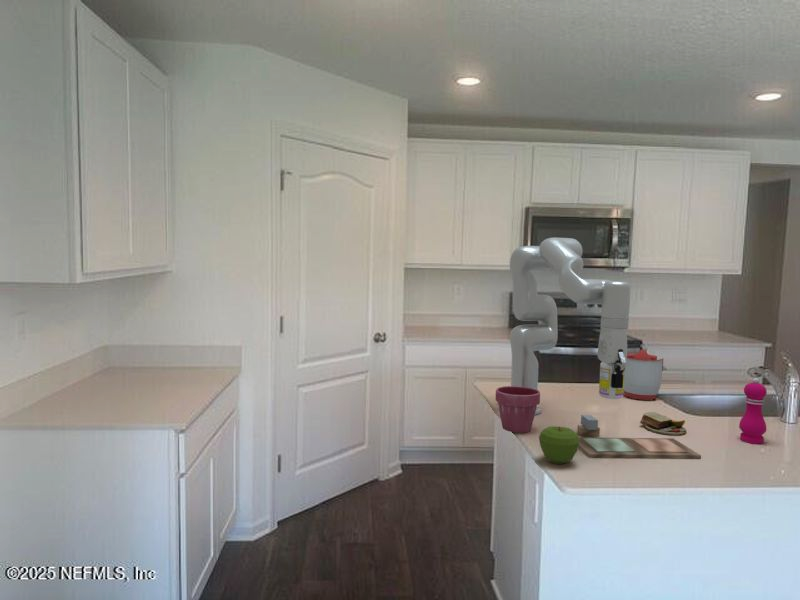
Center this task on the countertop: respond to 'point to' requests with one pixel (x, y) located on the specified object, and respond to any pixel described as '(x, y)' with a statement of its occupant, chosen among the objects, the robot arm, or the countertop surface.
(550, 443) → the apple
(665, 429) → the toy sandwich meal
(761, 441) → the pepper mill
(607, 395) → the supplement bottle
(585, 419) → the brick grey
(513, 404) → the plant pot
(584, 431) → the brick walnut
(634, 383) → the citrus juicer
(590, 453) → the tile board
